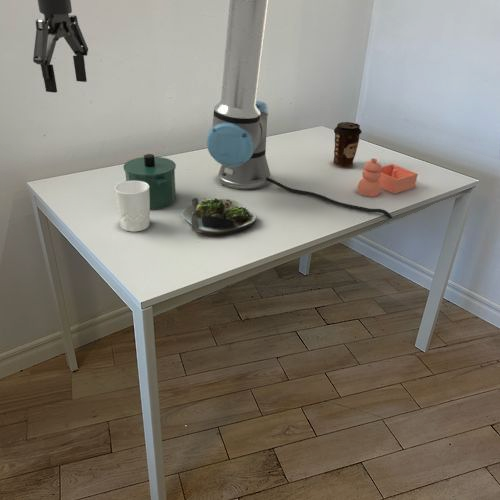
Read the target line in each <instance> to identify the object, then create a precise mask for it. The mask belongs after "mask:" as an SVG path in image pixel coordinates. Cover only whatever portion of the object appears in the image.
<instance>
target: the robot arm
mask: <svg viewBox="0 0 500 500" xmlns="http://www.w3.org/2000/svg"><path fill="white" fill-rule="evenodd" d="M37 6H38V11H39V13H40V14H43V19H35V30H36V31H35V38H34V39H35V40H34V48H33V57H32V61H33V63H35V64H37V65H39V66H40V70H41V74H42V79H43V83H44V87H45V93H53V94H55V93H58V88H57V82H56V81H57V80H56V75H55V68H54V64H51V62H52V59H53V55H54V51H55V48H56V46H57V45H56V44H57V42H58V41H59V40H60V39H61V38H63V39H64V40H65V42H66V43H67V45H68V46H69V48H70V49H71V50H72V52H73V54H74V55H72V58H73V66H74V73H75V79H76V80H75V81H76V82H80V83H81V82H82V83H86V82H88V79H87V72H86V64H85V63H86V62H85V57H86V56H88V54H89V53H88V52H89V47H88V45H87V43H86V40H85V38H84V34H83V32H82V30H81V27H80V25H79V20H78V16H77V15H74V14H72V12H73V8H72V7H73V6H72V1H71V0H37ZM268 7H269V0H229V5H228V14H227V15H228V16H227V26H226V38H225V48H224V49H225V50H224V59H223V61H224V62H223V71H222V84H221V95H220V101H219V102H218V103H217V104H215V105H214V107H213V114H212V115H213V117H212V127H211V128H210V130H209V132H208V133H207V137H206V147H207V151H208V153H209V155H210V156H211V157H212V159H214V161H216V162H217V163H218V164H220V167H219V171H218V182H219V183H220V184H221V185H223V186H225V187H228V188H230V189H235V190H243V191H244V190H246V191H248V190H249V191H251V190H258V189H261V188H264V187H266V186H268V185H269V184H270V183H272V184H273V185H275V186H277V187H279V188H281V189H283V190H285V191H288V192H290V193H295V194H301V195H307V196H311V197H314V198H318V199H320V200H324V201H325V202H328V203H330V204H333V205H336V206H339V207H343V208H348V209H353V210H357V211H361V212H367V213H379V214H383V215H385V216H386V217H387V218H388V219H393V216H392V215H391V213H390V212H389V211H387V210H386V209H384V208H383V209H382V208H370V207H365V206H359V205H354V204H349V203H345V202H342V201H338V200H335V199H332V198H329V197H327V196H324V195H322V194H320V193H316V192H312V191H307V190H300V189H296V188H292V187H288V186H287V185H284V184H282V183H281V182H279V181H277V180H274V179H272V178H271V175H272V174H271V170H270V167H269V164H268V160H267V156H266V151H267V135H268V133H267V132H268V116H269V110H268V109H269V108H268V104H267V103H266V102H264V101H262V100H261V101H260V100H257V95H258V88H259V80H260V73H261V72H260V71H261V63H262V55H263V54H262V53H263V47H264V39H265V32H266V24H267V15H268ZM71 14H72V15H71Z"/></svg>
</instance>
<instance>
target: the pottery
mask: <svg viewBox="0 0 500 500" xmlns="http://www.w3.org/2000/svg"><path fill="white" fill-rule="evenodd" d="M418 174H419V173H417V172H415V171H412V170H409V169H406V168H404V167H401V166H399V165H396V164H394V163H390V164H386V165H383V166H382V165H381V163H379V162H378V159H377V158H370V161H367V162H365V163H364V165H363V170H362V172H361V176H362V178H361V179H360V180H359V181H358V183H357V193H359V195H361V196H365V197H371V198H372V197H378V196H379V195H380V193H381V191H382V189H383V190H385V191H387V192H389V193H392V194H394V195H395V194H399V193H401V192H404V191H407V190H411V189H414V188H416V184H417V179H418Z"/></svg>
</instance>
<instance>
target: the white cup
mask: <svg viewBox="0 0 500 500" xmlns="http://www.w3.org/2000/svg"><path fill="white" fill-rule="evenodd" d="M114 194H115V195H114V196H115V201H116V202H115V203H116V208H117V211H118V217H119V222H120V227H121V228H122V230H124V231H126V232H131V233H132V232H133V233H135V232H141V231H145V230H146V229H148V228H149V227H150V223H151V220H150V219H151V218H150V216H151V209H150V192H149V185H148V184H147V183H145V182H142V181H126V180H125V181H121V182H119V183H117V184H115V185H114Z"/></svg>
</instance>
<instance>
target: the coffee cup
mask: <svg viewBox="0 0 500 500" xmlns="http://www.w3.org/2000/svg"><path fill="white" fill-rule="evenodd" d="M360 127H361V125H360V124H359V123H354V122H350V121H344V122H338V123H337V125H336V126H335V128H334V129H333V132H334V149H333V161H332V164H333V165H334V166H335V167H338V168H344V169H345V168H347V169H348V168H351V167H353V165H354V160H355V157H356V155H357V151H358V150H357V149H358V147H359V142H360V135H361V134H362V129H361V128H360Z"/></svg>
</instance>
